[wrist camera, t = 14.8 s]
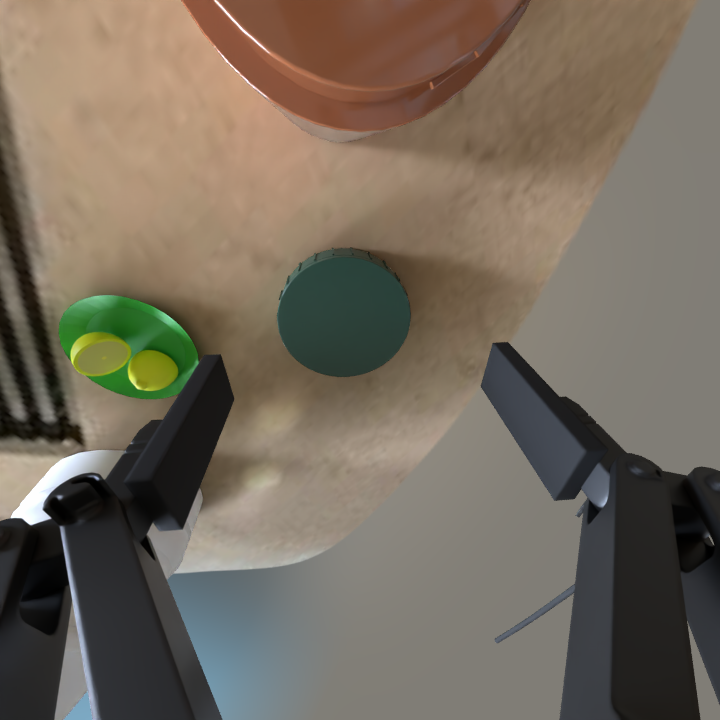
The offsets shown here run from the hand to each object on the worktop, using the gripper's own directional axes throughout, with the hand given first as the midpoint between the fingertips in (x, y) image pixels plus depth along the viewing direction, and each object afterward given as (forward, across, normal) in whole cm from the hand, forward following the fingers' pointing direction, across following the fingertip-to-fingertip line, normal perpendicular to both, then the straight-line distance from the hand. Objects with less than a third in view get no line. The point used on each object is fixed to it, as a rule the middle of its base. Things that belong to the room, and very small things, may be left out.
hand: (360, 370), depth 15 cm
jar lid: (+5, -1, 0) cm, 5 cm away
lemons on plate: (+6, -14, -2) cm, 16 cm away
